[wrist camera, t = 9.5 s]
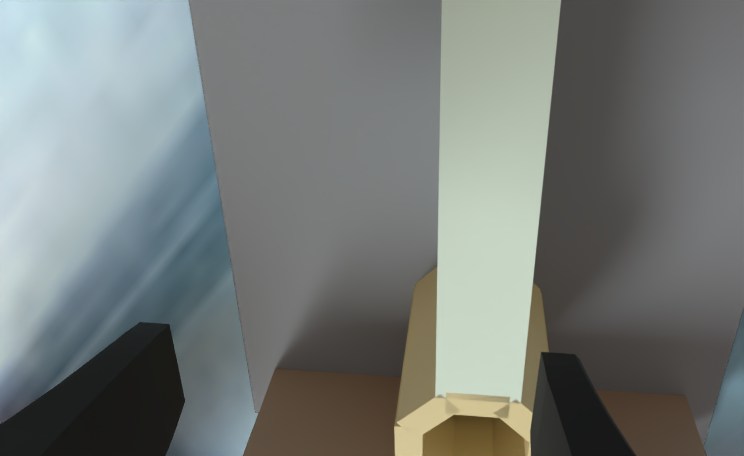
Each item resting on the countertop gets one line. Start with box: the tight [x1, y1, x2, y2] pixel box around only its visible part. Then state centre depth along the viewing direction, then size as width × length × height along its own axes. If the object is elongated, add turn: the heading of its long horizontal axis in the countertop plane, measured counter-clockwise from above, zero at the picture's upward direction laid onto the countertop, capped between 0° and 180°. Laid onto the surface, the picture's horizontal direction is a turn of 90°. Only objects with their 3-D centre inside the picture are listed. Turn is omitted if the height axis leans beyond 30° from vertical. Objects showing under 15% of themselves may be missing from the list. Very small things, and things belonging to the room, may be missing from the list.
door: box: [394, 0, 561, 456], centre depth 18 cm, size 14×4×6 cm, turn 2°
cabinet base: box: [189, 0, 744, 456], centre depth 18 cm, size 20×16×7 cm
